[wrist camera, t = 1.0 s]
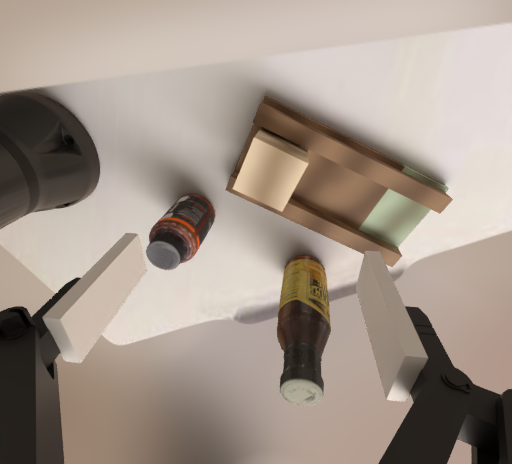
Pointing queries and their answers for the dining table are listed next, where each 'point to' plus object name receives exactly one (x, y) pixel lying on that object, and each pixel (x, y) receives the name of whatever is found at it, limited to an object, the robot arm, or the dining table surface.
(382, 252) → the walnut chute
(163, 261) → the supplement bottle
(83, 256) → the dining table surface
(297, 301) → the sauce bottle
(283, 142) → the block
